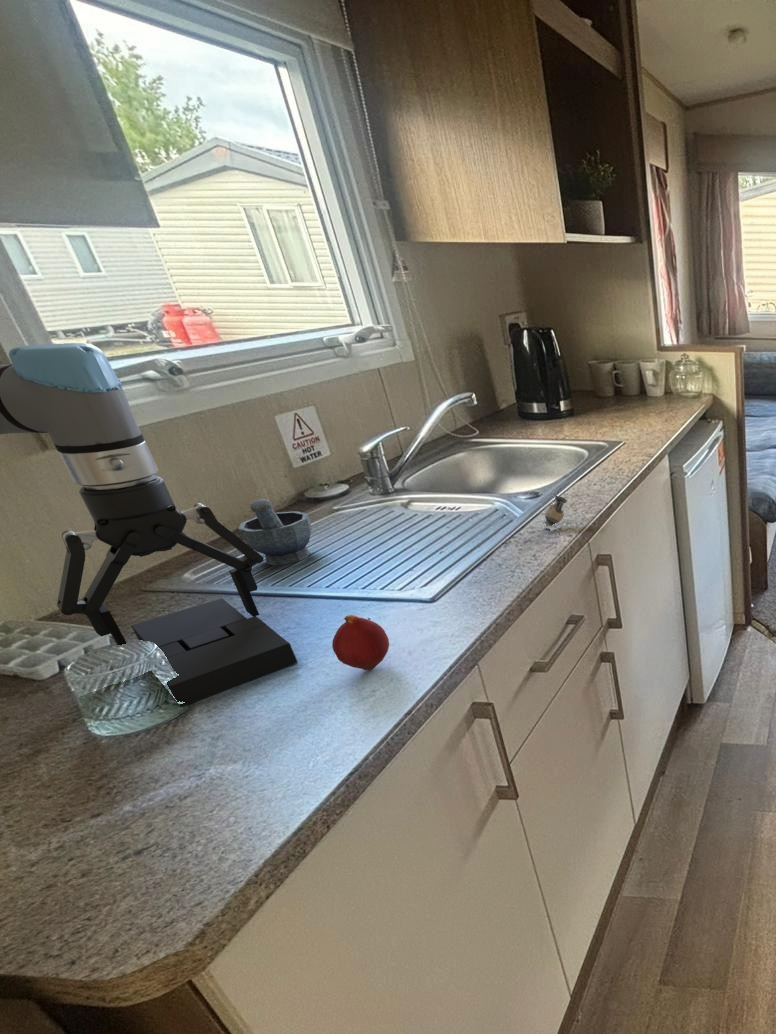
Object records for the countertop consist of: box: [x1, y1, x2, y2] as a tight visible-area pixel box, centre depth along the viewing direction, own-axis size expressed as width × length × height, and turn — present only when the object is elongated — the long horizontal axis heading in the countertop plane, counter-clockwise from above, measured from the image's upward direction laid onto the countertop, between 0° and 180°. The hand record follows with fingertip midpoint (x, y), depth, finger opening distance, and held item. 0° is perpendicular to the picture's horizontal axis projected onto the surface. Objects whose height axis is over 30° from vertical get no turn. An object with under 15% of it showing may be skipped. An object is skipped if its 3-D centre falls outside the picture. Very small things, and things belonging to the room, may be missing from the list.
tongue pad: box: [130, 598, 248, 651], centre depth 88 cm, size 14×10×3 cm
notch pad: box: [159, 616, 298, 708], centre depth 83 cm, size 12×12×3 cm
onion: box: [331, 614, 390, 671], centre depth 82 cm, size 6×6×8 cm
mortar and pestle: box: [238, 498, 313, 566], centre depth 111 cm, size 11×9×12 cm
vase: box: [537, 495, 568, 533], centre depth 127 cm, size 5×5×6 cm
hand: (193, 632), depth 89 cm, fingers open, 13 cm apart
